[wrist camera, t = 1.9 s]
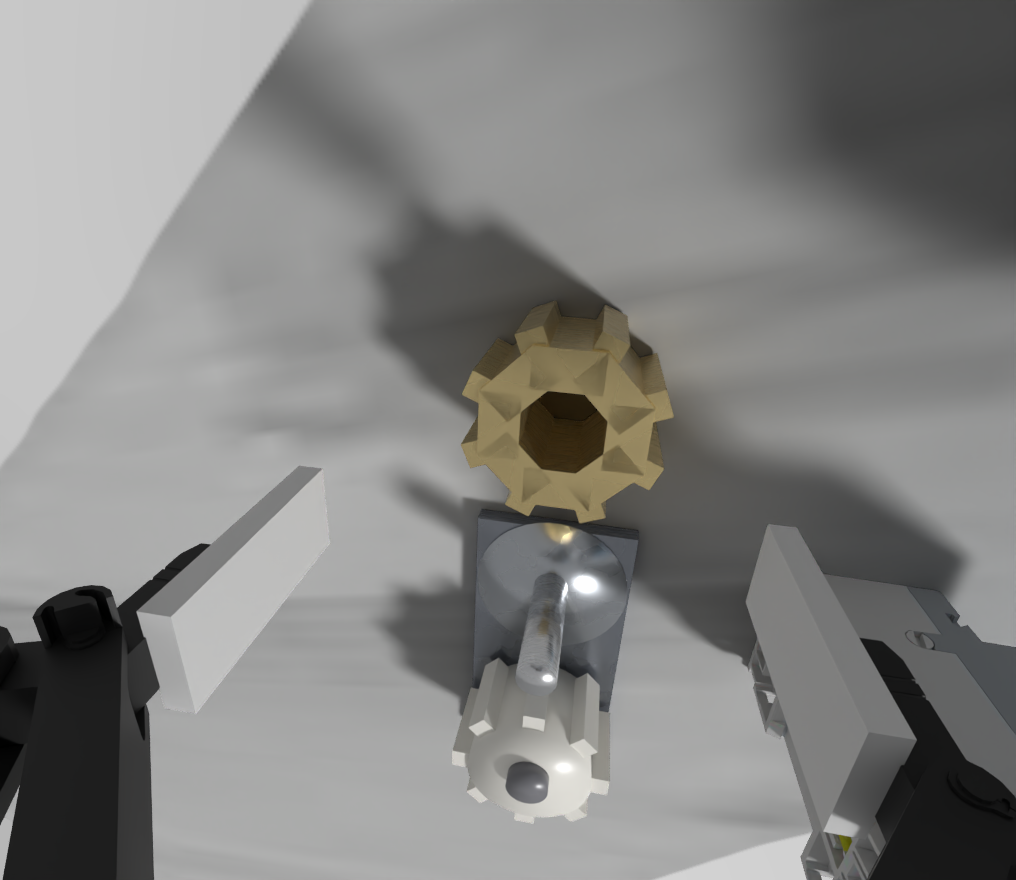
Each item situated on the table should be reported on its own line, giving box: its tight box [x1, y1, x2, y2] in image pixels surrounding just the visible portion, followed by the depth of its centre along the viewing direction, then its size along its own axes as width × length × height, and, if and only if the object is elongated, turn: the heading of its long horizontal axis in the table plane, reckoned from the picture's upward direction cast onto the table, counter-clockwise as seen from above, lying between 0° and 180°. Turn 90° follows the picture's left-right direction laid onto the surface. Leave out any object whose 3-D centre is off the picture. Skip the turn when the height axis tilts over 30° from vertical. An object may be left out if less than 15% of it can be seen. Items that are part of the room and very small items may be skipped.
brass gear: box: [461, 301, 674, 523], centre depth 26 cm, size 9×9×6 cm
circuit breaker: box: [748, 574, 1016, 880], centre depth 25 cm, size 8×14×15 cm, turn 86°
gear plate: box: [473, 509, 639, 712], centre depth 32 cm, size 9×18×8 cm, turn 177°
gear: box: [452, 658, 610, 824], centre depth 34 cm, size 9×9×6 cm
